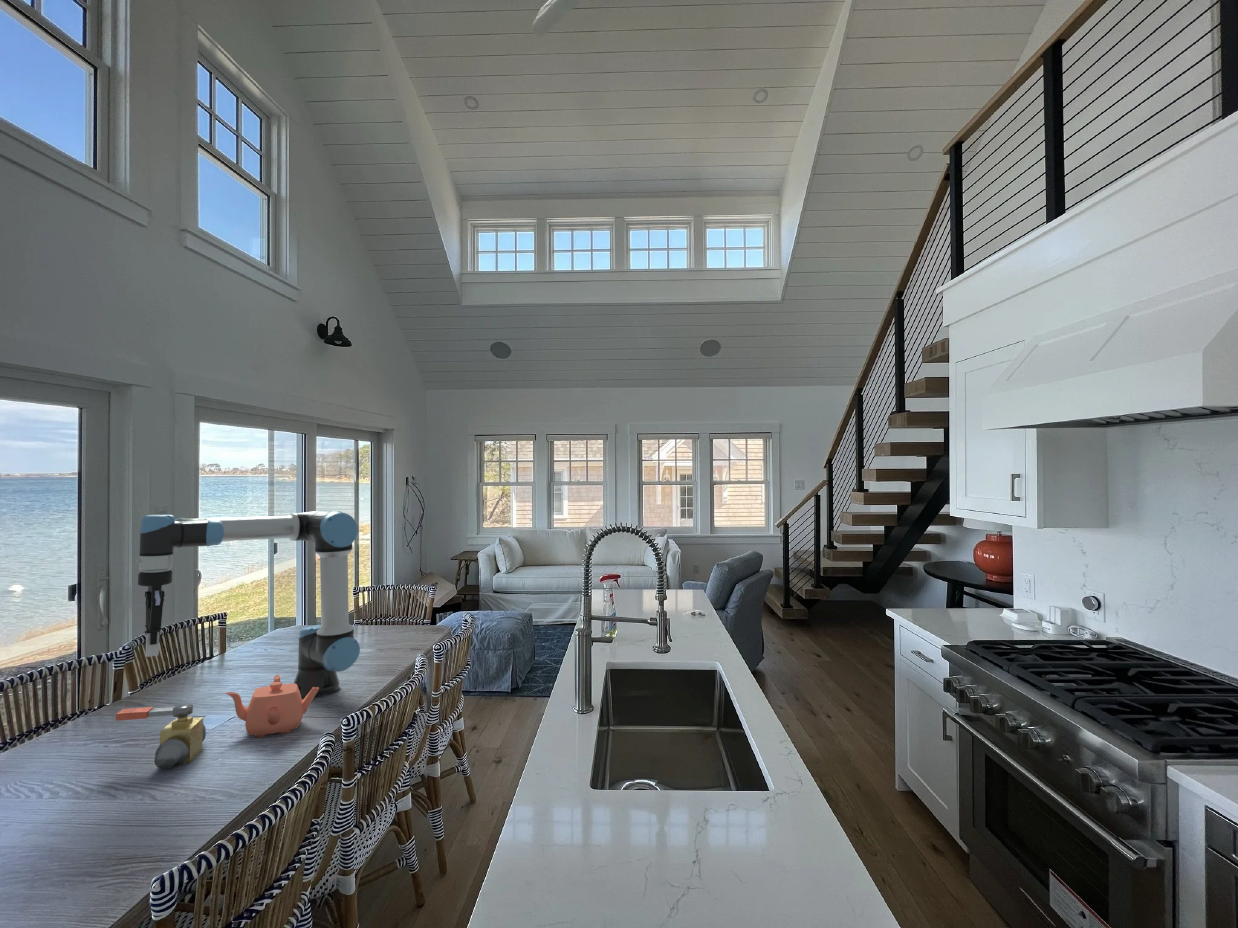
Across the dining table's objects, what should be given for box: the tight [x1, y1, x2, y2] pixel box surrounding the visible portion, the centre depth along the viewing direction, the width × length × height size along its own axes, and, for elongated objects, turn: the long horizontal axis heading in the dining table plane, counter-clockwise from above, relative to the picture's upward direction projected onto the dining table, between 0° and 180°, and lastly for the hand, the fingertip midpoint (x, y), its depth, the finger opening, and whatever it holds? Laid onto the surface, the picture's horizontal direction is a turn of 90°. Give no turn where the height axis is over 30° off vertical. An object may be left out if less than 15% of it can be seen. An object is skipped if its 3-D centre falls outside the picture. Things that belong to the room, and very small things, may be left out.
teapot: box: [225, 674, 319, 738], centre depth 181 cm, size 18×18×14 cm
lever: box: [115, 703, 194, 722], centre depth 160 cm, size 17×4×2 cm, turn 105°
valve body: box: [153, 715, 207, 770], centre depth 161 cm, size 18×7×12 cm, turn 15°
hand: (152, 655), depth 166 cm, fingers closed
